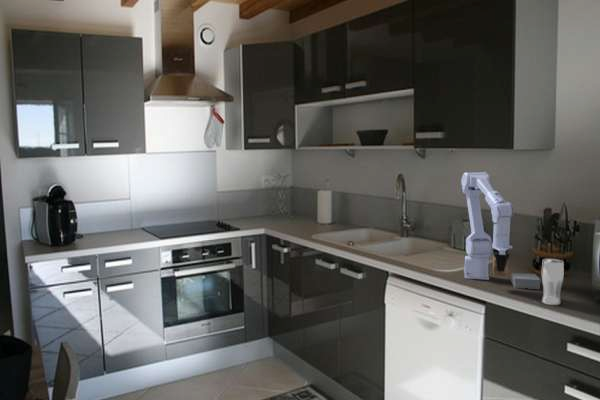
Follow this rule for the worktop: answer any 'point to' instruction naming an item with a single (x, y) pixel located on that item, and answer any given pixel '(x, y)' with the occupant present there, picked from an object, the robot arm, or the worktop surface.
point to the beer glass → (552, 280)
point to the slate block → (525, 280)
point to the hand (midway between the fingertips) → (500, 269)
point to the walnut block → (501, 273)
